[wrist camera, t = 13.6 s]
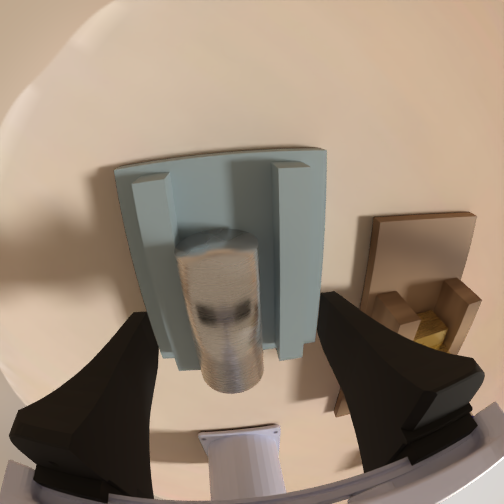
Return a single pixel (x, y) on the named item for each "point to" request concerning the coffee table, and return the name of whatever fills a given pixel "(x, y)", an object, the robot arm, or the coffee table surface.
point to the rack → (230, 217)
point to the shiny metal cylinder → (223, 305)
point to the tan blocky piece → (431, 331)
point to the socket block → (419, 276)
